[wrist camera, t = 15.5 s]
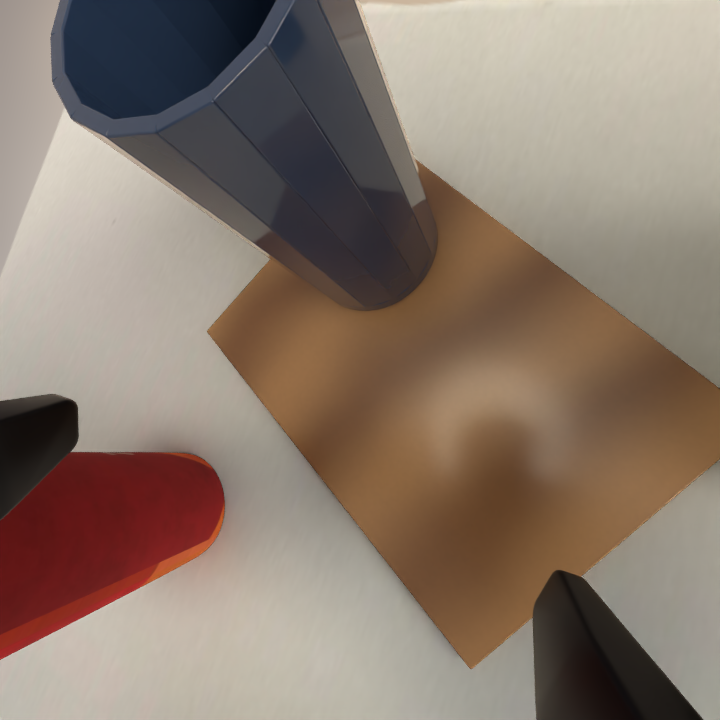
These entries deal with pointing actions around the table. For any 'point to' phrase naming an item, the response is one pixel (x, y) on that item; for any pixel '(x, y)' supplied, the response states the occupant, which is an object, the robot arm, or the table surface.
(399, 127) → the tumbler
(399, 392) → the wooden board
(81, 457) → the paper cup
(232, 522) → the table surface
